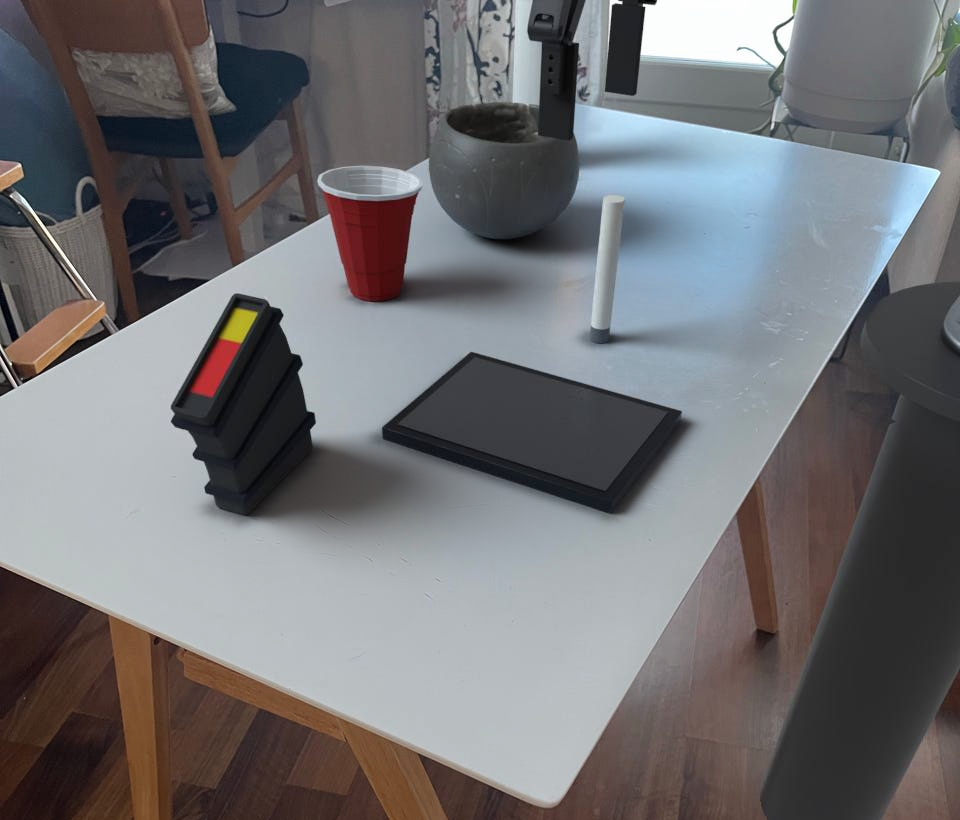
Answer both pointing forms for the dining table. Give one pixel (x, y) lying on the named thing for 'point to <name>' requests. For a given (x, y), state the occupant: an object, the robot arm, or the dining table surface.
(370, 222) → the plastic cup
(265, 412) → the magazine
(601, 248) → the stylus
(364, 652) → the dining table surface
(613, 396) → the tablet
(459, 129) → the bowl
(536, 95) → the paper towel roll
